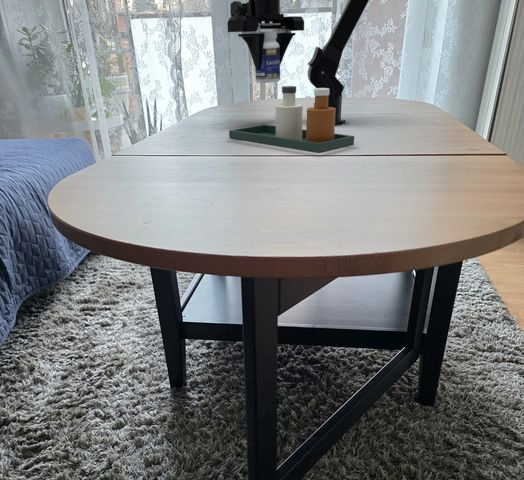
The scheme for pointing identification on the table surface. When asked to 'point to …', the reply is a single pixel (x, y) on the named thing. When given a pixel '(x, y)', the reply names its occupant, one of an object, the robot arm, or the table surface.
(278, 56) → the pill bottle
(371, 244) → the table surface
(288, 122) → the white bottle
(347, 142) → the tray
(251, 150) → the table surface
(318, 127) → the amber bottle
